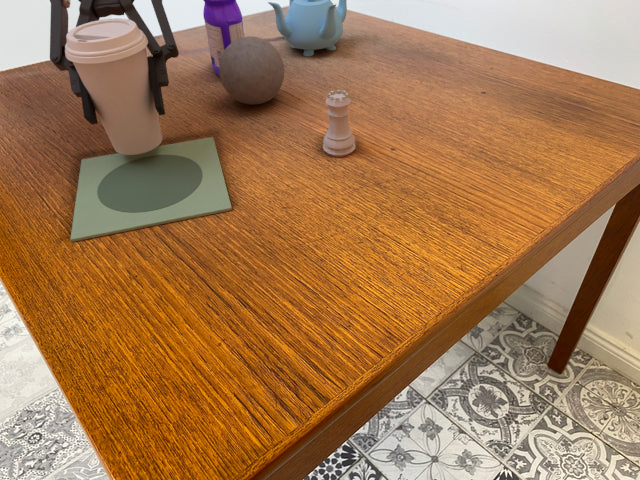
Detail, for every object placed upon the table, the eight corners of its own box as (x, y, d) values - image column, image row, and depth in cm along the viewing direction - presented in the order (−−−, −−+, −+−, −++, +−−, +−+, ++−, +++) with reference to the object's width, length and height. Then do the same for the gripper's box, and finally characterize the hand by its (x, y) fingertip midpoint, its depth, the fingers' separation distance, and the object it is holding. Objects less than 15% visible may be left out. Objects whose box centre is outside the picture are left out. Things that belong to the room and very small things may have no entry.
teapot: (336, 62, 94) (335, 4, 88) (268, 57, 97) (262, 0, 91) (352, 38, 104) (352, -17, 97) (290, 34, 107) (286, -19, 100)
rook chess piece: (351, 159, 68) (350, 103, 63) (318, 156, 69) (315, 99, 64) (359, 143, 71) (359, 88, 66) (328, 139, 72) (326, 85, 67)
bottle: (255, 75, 91) (241, -34, 80) (226, 84, 89) (207, -28, 78) (236, 63, 96) (220, -42, 85) (208, 71, 94) (188, -36, 82)
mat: (82, 161, 71) (81, 158, 70) (213, 139, 74) (213, 136, 74) (71, 242, 57) (69, 239, 57) (232, 210, 61) (231, 207, 60)
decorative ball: (268, 83, 88) (261, 22, 82) (298, 103, 82) (293, 39, 75) (214, 99, 84) (202, 37, 78) (242, 122, 78) (232, 56, 71)
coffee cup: (88, 147, 70) (43, 34, 60) (146, 119, 75) (114, 11, 65) (128, 169, 65) (86, 51, 55) (188, 137, 70) (159, 24, 61)
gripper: (-2, -71, 61) (25, 116, 59) (176, -86, 63) (206, 93, 62) (26, -31, 68) (51, 136, 66) (184, -46, 71) (211, 114, 69)
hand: (125, 115), depth 64 cm, fingers closed on coffee cup, 8 cm apart
